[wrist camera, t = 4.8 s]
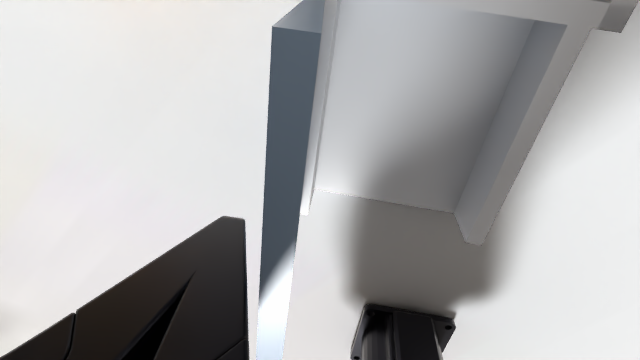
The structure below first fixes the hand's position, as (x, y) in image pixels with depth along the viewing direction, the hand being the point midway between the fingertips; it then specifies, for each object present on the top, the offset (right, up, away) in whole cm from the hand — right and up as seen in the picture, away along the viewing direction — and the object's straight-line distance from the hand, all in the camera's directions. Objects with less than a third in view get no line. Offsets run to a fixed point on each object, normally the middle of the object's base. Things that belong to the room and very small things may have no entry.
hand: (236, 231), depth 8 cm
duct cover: (+1, +1, +2) cm, 3 cm away
